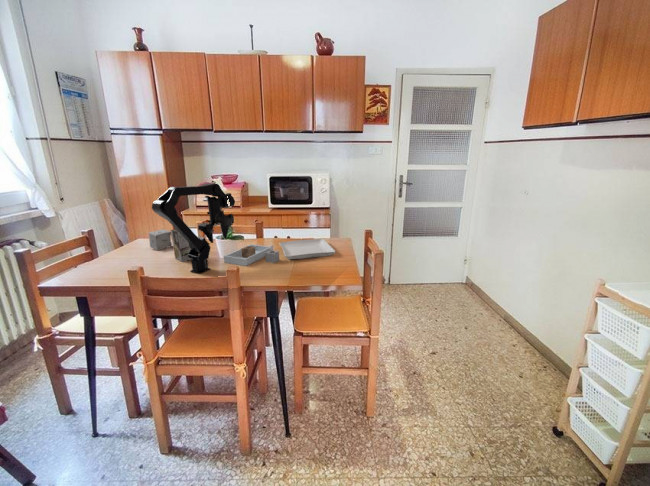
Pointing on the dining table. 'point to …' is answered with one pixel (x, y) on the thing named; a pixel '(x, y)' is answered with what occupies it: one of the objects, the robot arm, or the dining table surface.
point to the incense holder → (160, 239)
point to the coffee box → (180, 246)
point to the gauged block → (272, 255)
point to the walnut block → (248, 251)
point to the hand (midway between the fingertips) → (218, 240)
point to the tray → (238, 260)
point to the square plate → (306, 248)
